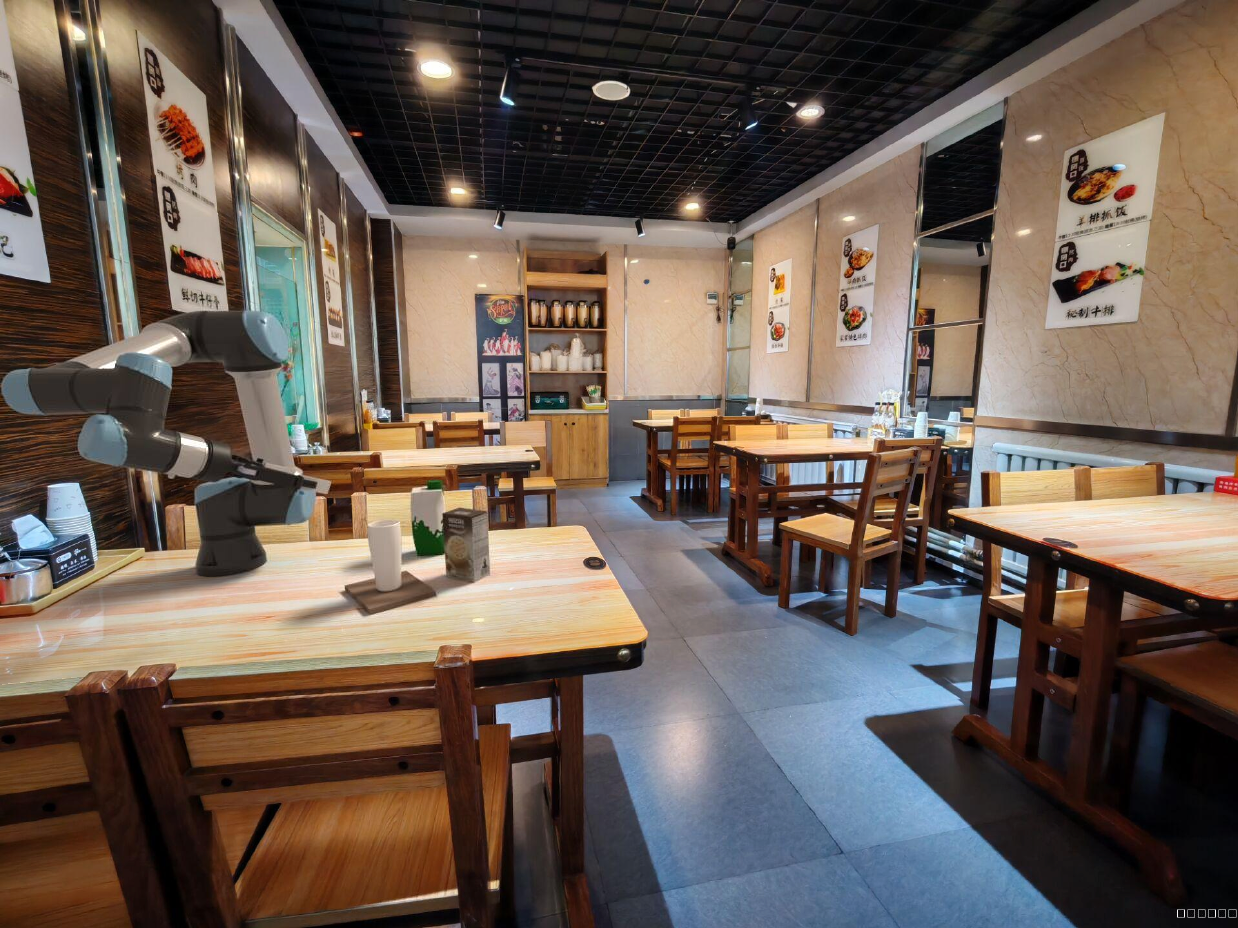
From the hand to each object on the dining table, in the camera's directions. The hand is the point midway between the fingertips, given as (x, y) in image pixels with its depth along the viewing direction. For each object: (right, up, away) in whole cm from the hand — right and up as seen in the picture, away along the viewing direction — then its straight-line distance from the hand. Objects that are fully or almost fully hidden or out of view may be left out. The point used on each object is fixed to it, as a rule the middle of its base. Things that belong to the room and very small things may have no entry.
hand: (310, 481), depth 116 cm
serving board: (+15, -25, +6) cm, 30 cm away
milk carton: (+14, -21, +35) cm, 43 cm away
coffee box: (+29, -24, +16) cm, 41 cm away
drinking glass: (+15, -24, +5) cm, 29 cm away
